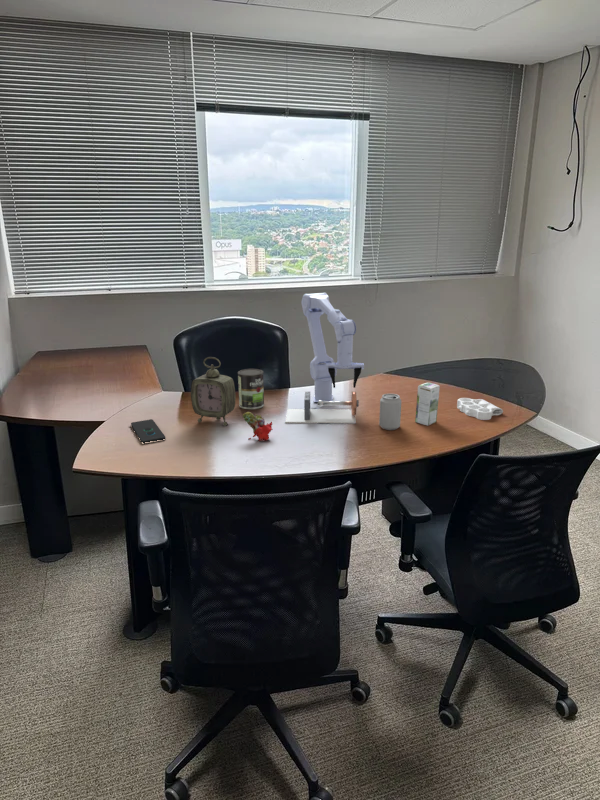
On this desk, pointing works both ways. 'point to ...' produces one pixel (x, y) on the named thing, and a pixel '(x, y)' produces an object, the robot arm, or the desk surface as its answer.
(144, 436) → the black flat block
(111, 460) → the desk surface
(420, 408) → the syrup box
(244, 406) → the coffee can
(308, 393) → the square hole plate
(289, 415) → the base board
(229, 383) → the tabletop clock
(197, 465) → the desk surface
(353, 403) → the bolt with copper washer
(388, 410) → the can
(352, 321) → the robot arm
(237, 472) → the desk surface
